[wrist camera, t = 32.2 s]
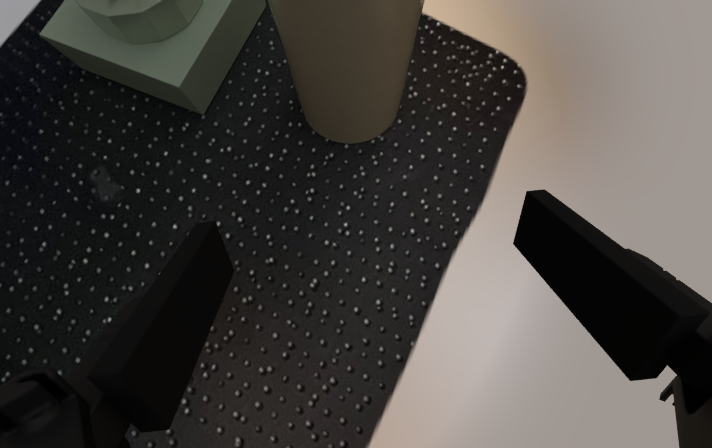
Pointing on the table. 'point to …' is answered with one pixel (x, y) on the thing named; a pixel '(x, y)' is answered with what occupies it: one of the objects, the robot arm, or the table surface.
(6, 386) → the robot arm
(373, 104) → the beige cylinder
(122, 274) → the table surface
